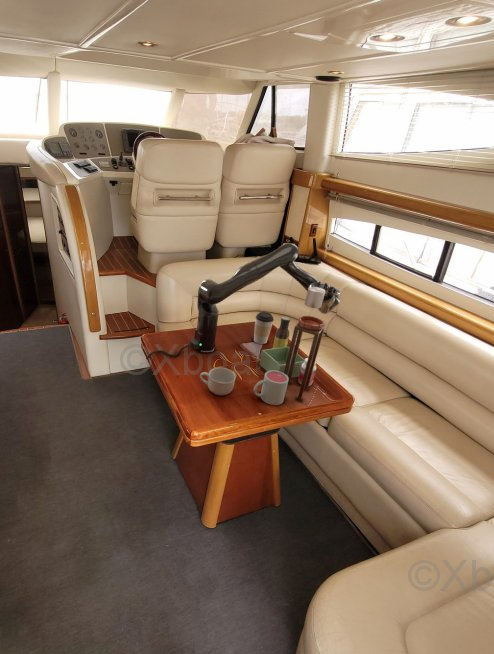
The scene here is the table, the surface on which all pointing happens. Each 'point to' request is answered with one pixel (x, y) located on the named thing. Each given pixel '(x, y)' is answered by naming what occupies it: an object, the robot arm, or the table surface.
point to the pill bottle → (304, 371)
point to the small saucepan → (315, 296)
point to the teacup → (219, 380)
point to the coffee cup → (262, 327)
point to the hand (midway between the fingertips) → (322, 284)
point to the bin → (279, 360)
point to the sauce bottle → (282, 333)
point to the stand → (317, 329)
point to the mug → (273, 387)
